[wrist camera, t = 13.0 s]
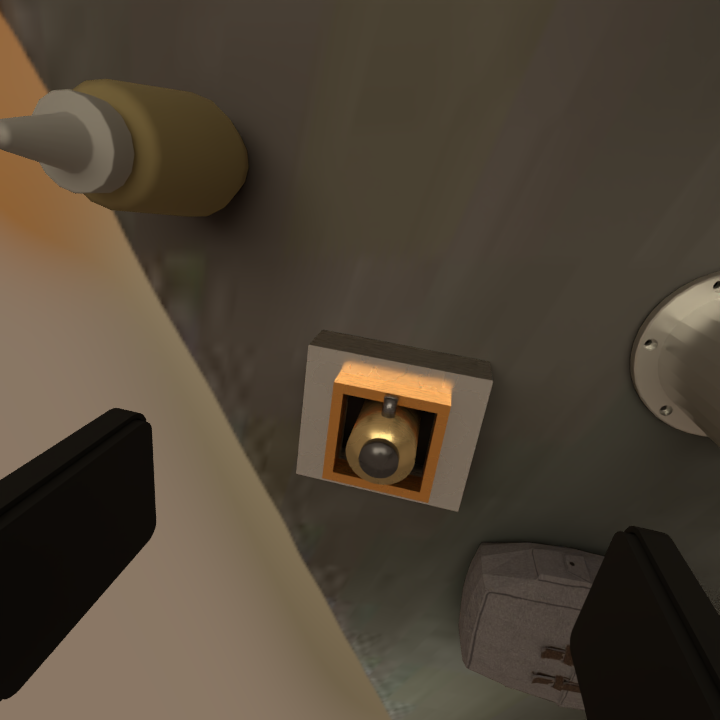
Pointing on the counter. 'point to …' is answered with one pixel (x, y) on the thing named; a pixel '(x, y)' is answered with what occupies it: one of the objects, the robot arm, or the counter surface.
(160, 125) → the squeeze bottle
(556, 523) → the counter surface
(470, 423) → the orange white open box
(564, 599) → the grey rounded bag
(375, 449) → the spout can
